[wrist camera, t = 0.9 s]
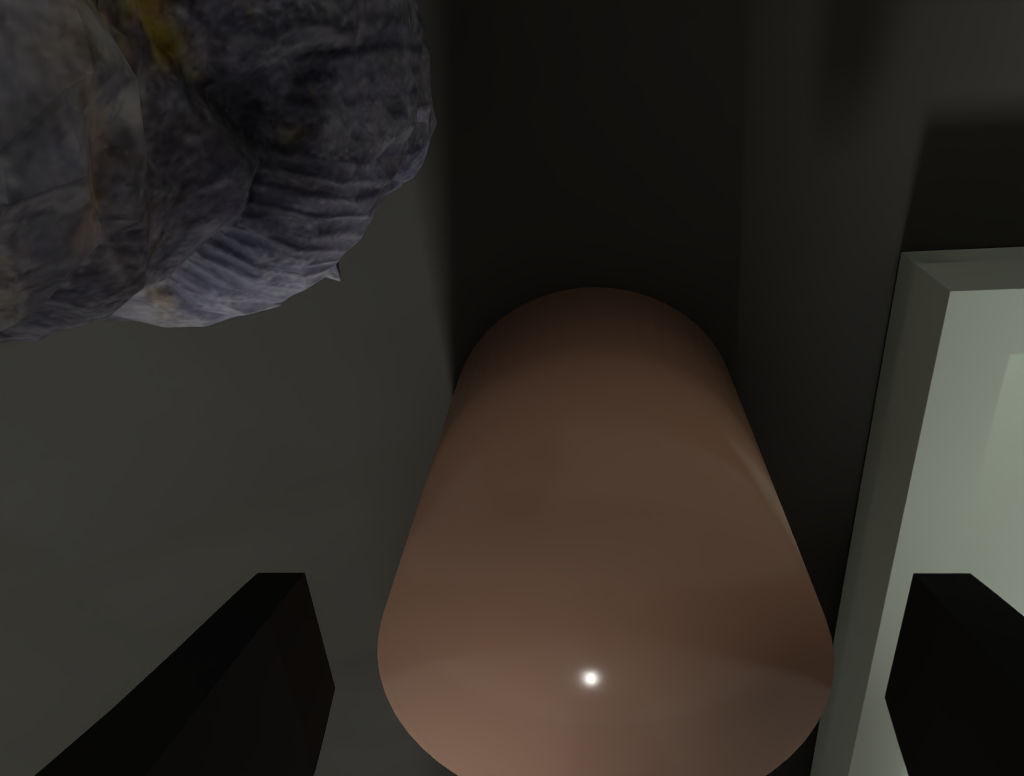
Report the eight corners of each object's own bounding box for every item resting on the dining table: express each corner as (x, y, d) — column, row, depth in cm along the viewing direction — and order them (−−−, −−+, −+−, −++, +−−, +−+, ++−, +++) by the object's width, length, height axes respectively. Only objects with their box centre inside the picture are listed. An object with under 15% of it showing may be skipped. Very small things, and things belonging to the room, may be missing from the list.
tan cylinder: (726, 528, 15) (806, 825, 10) (468, 530, 15) (409, 811, 10) (745, 280, 12) (867, 492, 7) (439, 292, 13) (341, 497, 8)
